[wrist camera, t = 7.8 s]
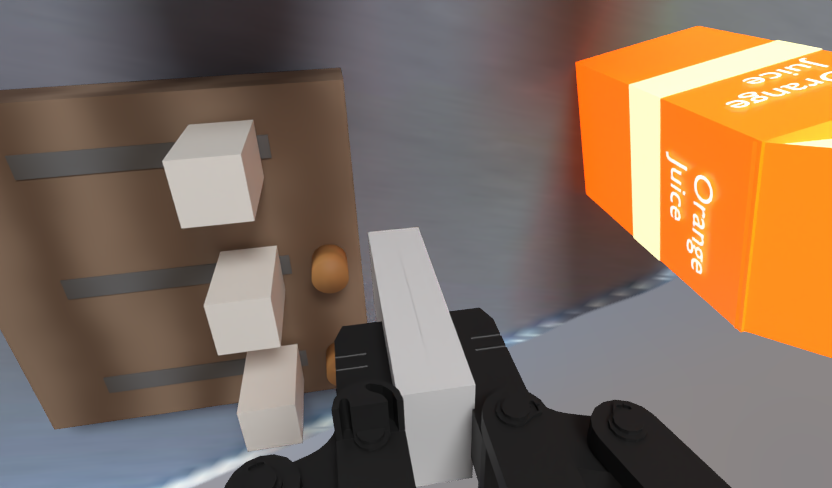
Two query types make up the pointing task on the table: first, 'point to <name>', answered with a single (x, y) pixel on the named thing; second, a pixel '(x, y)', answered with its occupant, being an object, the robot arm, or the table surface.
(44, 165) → the switch unit
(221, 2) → the table surface
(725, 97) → the orange juice
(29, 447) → the table surface
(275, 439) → the switch
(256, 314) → the switch
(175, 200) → the switch
